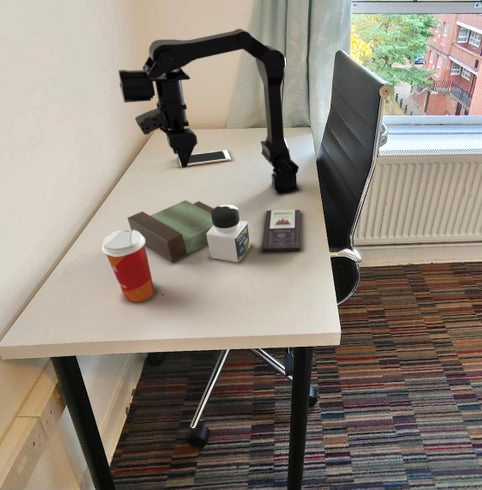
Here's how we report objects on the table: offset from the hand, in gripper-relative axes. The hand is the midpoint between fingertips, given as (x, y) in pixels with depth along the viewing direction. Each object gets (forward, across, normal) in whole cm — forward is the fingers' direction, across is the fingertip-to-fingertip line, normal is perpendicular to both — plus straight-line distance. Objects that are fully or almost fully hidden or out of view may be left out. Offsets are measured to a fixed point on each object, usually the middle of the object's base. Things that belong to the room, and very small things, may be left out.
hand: (180, 160), depth 113 cm
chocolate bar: (+14, +22, +19) cm, 32 cm away
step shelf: (+15, +12, -3) cm, 19 cm away
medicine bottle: (+14, +25, +5) cm, 29 cm away
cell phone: (+14, -31, +12) cm, 36 cm away
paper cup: (+16, +31, -17) cm, 38 cm away
